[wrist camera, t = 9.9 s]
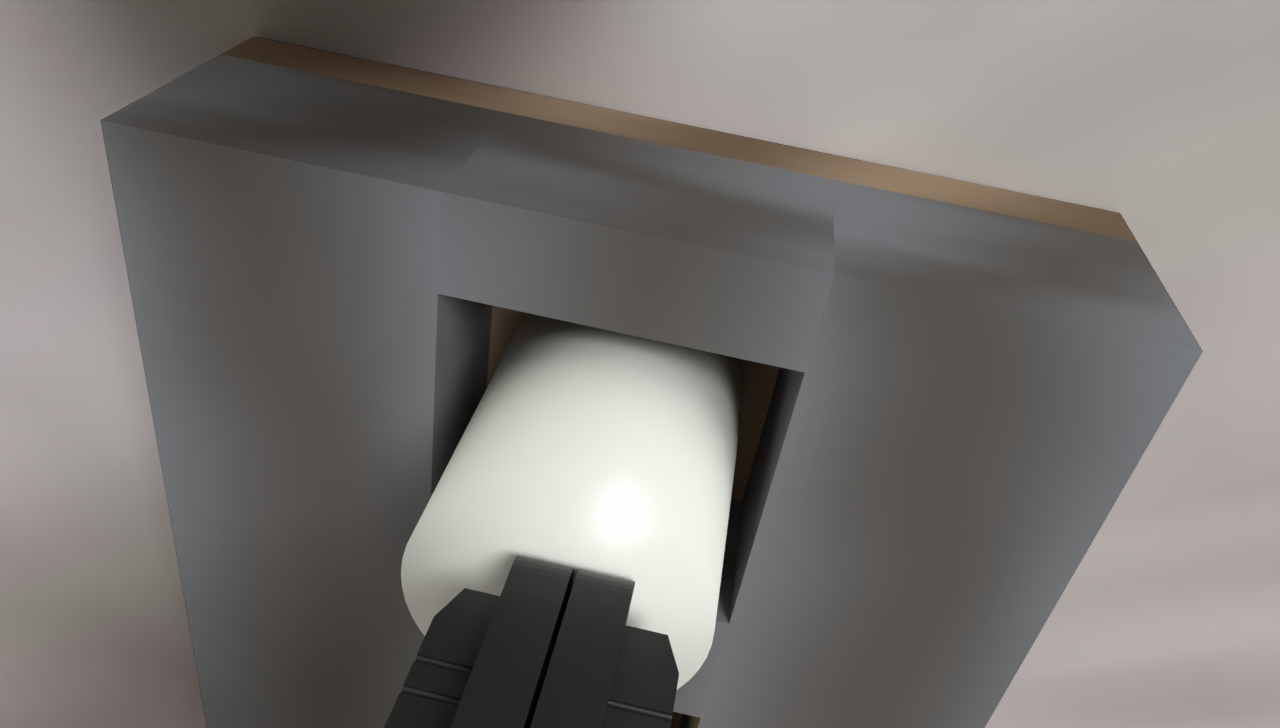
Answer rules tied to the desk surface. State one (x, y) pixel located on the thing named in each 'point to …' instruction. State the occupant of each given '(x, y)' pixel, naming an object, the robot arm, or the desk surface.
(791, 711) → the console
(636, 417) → the ivory button
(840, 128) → the desk surface
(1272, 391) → the desk surface
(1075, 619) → the desk surface
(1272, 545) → the desk surface
